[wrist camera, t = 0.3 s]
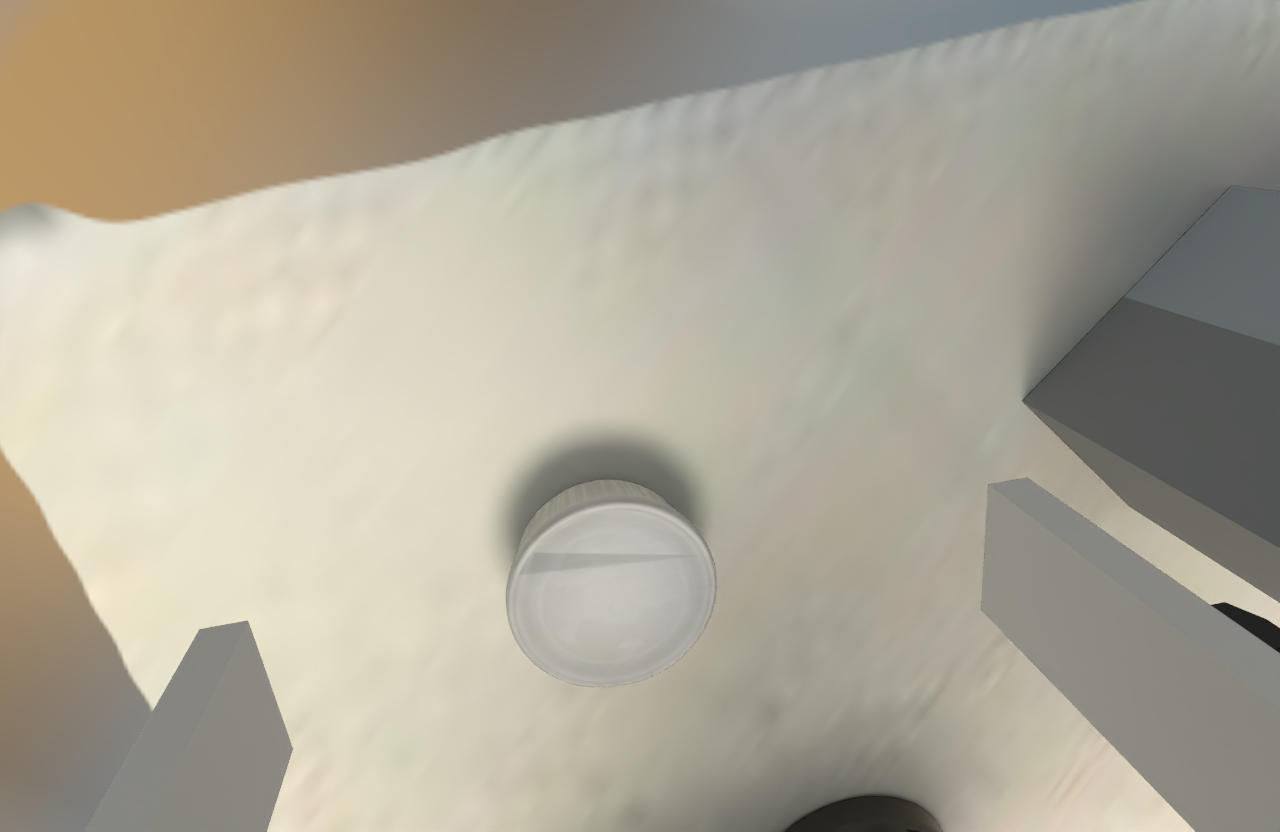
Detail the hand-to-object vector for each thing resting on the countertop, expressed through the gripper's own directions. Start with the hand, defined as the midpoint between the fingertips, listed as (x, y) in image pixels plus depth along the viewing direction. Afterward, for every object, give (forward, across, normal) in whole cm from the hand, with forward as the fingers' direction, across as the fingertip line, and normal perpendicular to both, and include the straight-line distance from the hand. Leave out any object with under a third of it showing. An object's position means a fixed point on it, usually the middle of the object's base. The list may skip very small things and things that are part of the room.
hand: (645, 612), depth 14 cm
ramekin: (+29, -1, +16) cm, 33 cm away
